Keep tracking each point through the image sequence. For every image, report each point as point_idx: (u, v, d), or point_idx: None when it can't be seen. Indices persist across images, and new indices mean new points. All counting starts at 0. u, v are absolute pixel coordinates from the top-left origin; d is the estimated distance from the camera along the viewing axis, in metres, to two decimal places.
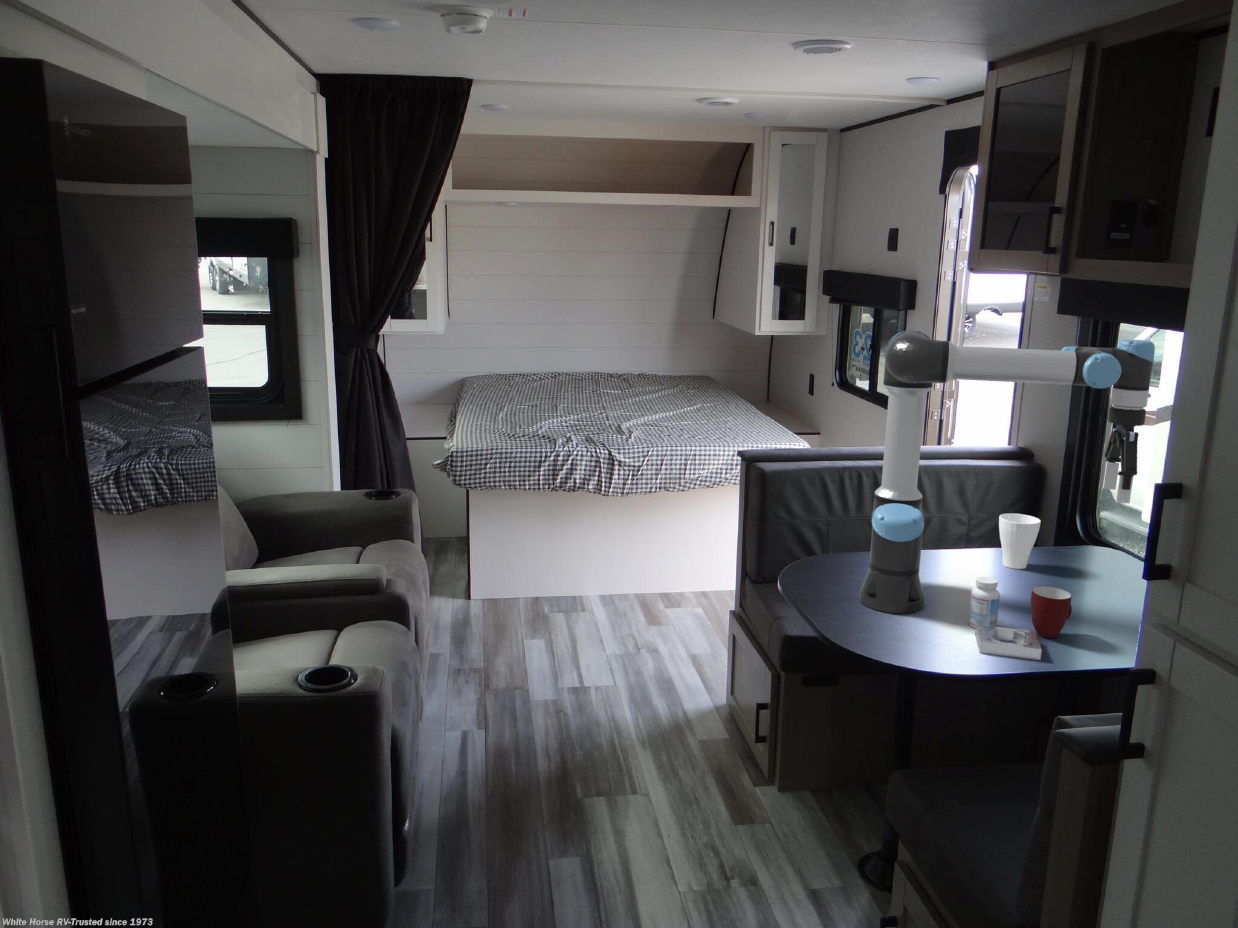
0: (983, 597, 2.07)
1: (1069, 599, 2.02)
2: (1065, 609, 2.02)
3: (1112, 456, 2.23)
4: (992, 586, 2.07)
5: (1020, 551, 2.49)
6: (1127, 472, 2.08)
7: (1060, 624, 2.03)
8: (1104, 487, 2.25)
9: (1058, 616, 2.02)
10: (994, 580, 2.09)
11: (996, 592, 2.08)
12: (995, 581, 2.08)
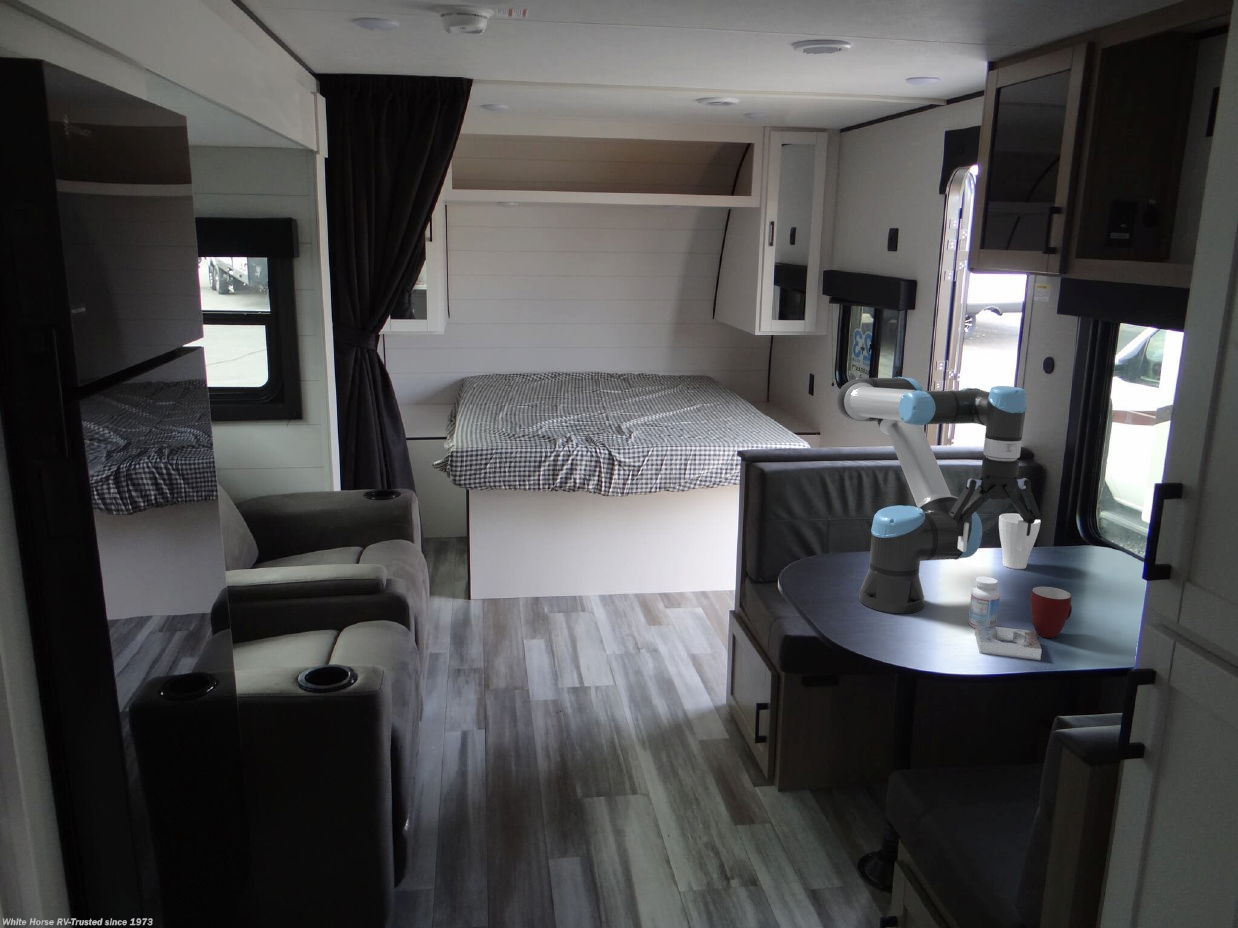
0: (983, 597, 2.07)
1: (1069, 599, 2.02)
2: (1065, 609, 2.02)
3: (1019, 513, 2.06)
4: (992, 586, 2.07)
5: (1020, 551, 2.49)
6: (949, 515, 2.05)
7: (1060, 624, 2.03)
8: (1016, 546, 2.09)
9: (1058, 616, 2.02)
10: (994, 580, 2.09)
11: (996, 592, 2.08)
12: (995, 581, 2.08)
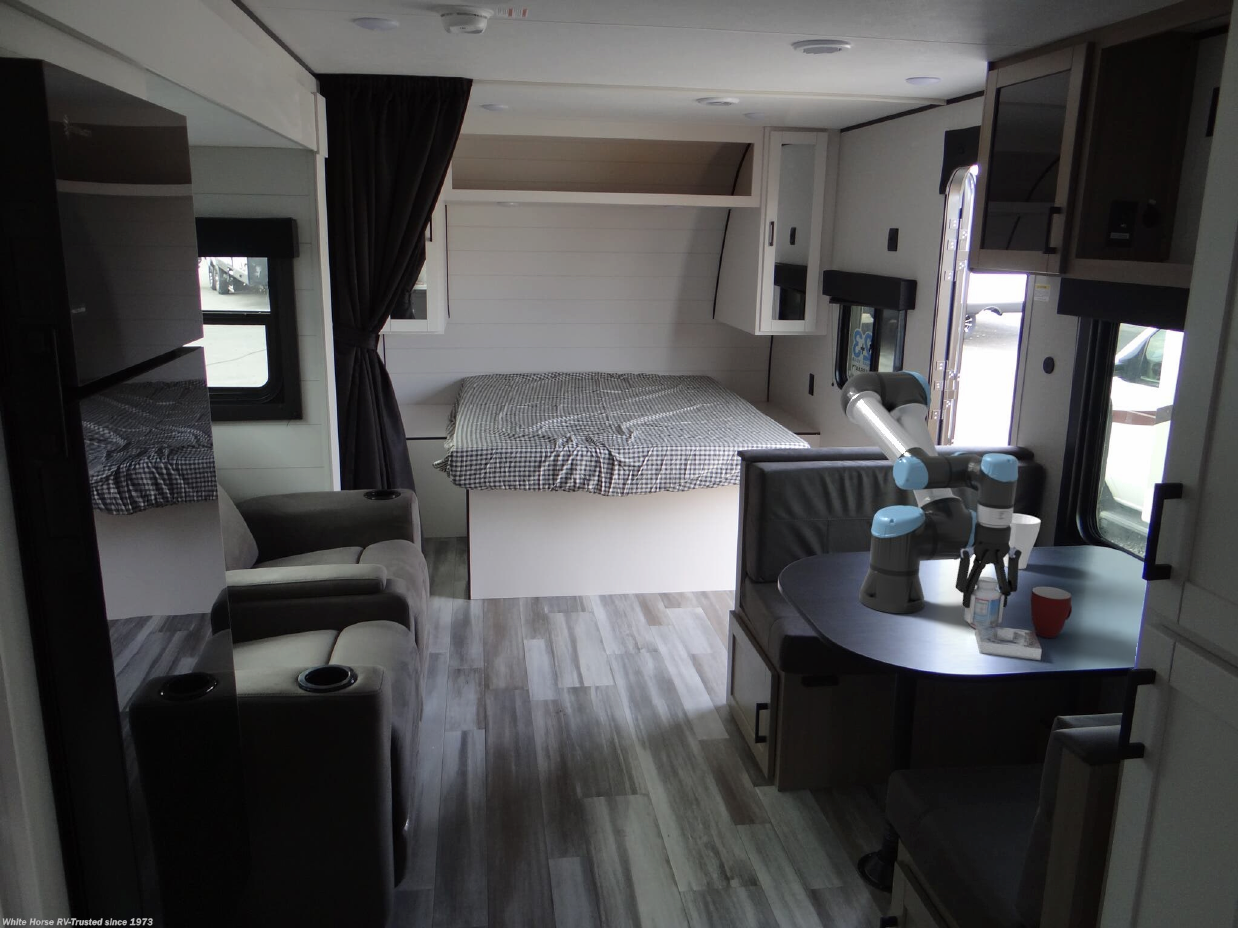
0: (983, 597, 2.07)
1: (1069, 599, 2.02)
2: (1065, 609, 2.02)
3: (999, 583, 2.10)
4: (992, 586, 2.07)
5: None
6: (956, 587, 2.09)
7: (1060, 624, 2.03)
8: None
9: (1058, 616, 2.02)
10: (994, 580, 2.09)
11: (996, 592, 2.08)
12: (995, 581, 2.08)
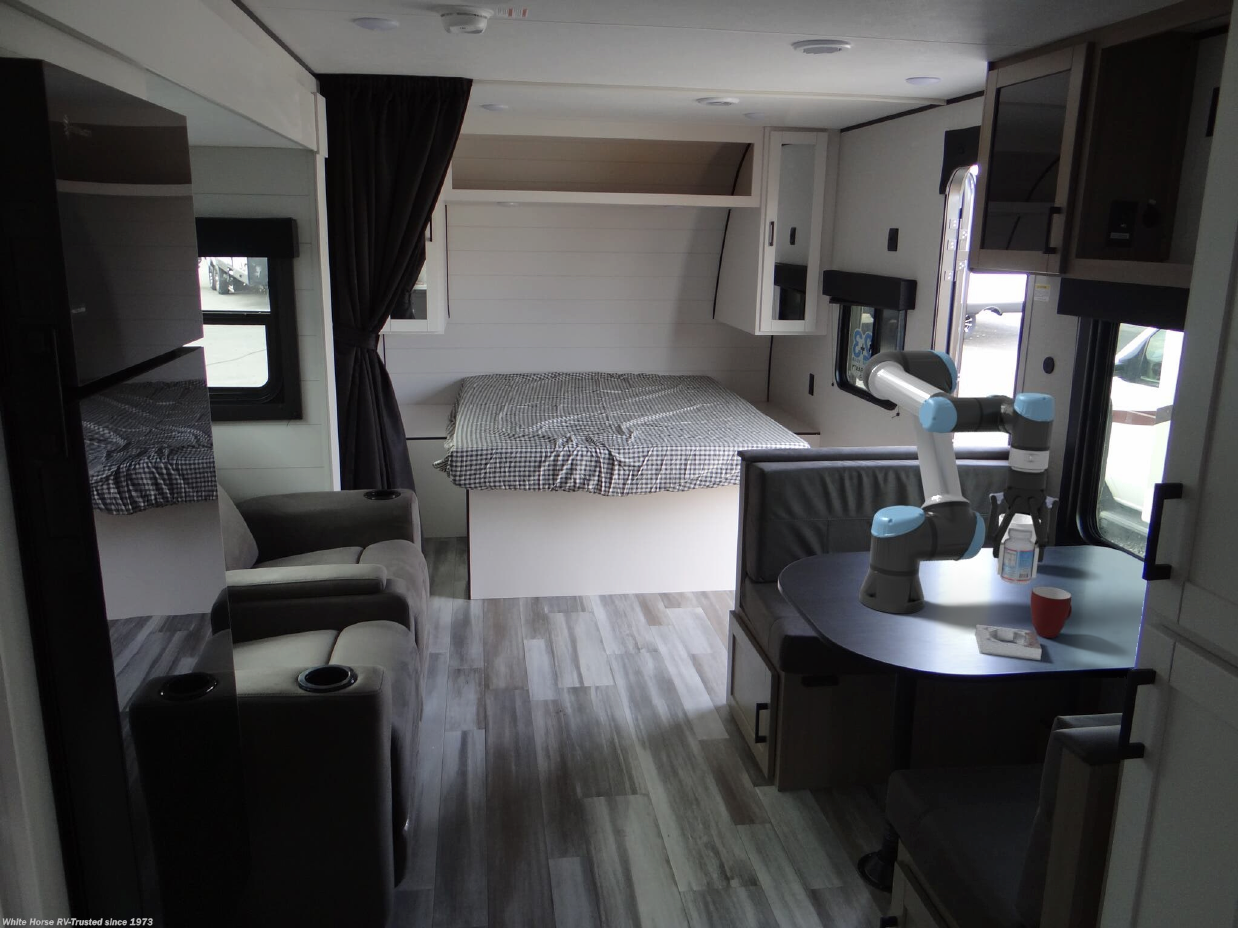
0: (1012, 547, 1.93)
1: (1069, 599, 2.02)
2: (1065, 609, 2.02)
3: None
4: (1022, 536, 1.92)
5: None
6: (985, 535, 1.97)
7: (1060, 624, 2.03)
8: None
9: (1058, 616, 2.02)
10: (1028, 531, 1.93)
11: (1028, 543, 1.93)
12: (1028, 531, 1.93)
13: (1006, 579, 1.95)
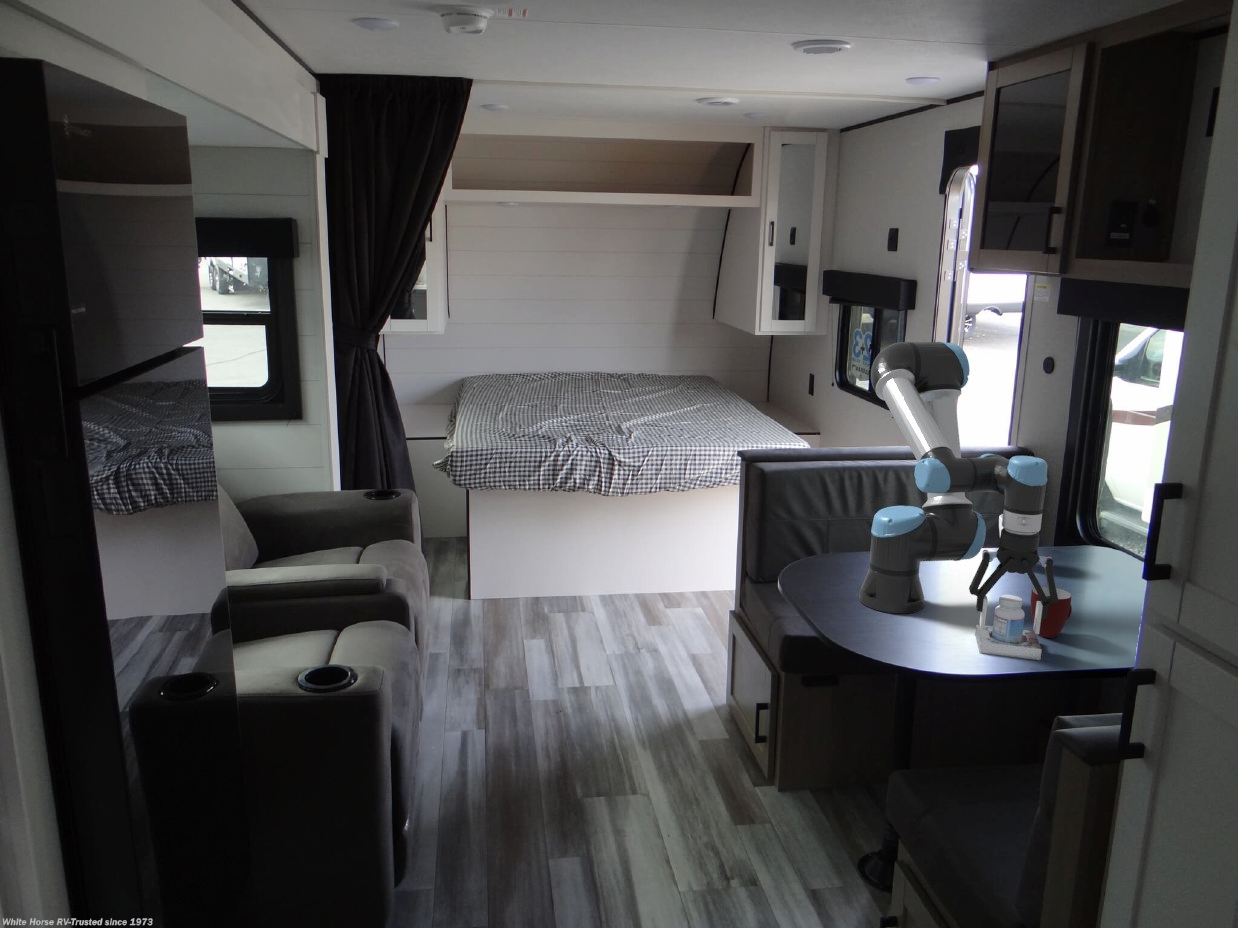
0: (1002, 615, 1.96)
1: (1069, 599, 2.02)
2: (1065, 609, 2.02)
3: None
4: (1013, 605, 1.96)
5: None
6: (969, 588, 2.00)
7: (1060, 624, 2.03)
8: (1033, 628, 1.99)
9: (1058, 616, 2.02)
10: (1019, 599, 1.97)
11: (1019, 612, 1.96)
12: (1019, 600, 1.96)
13: None
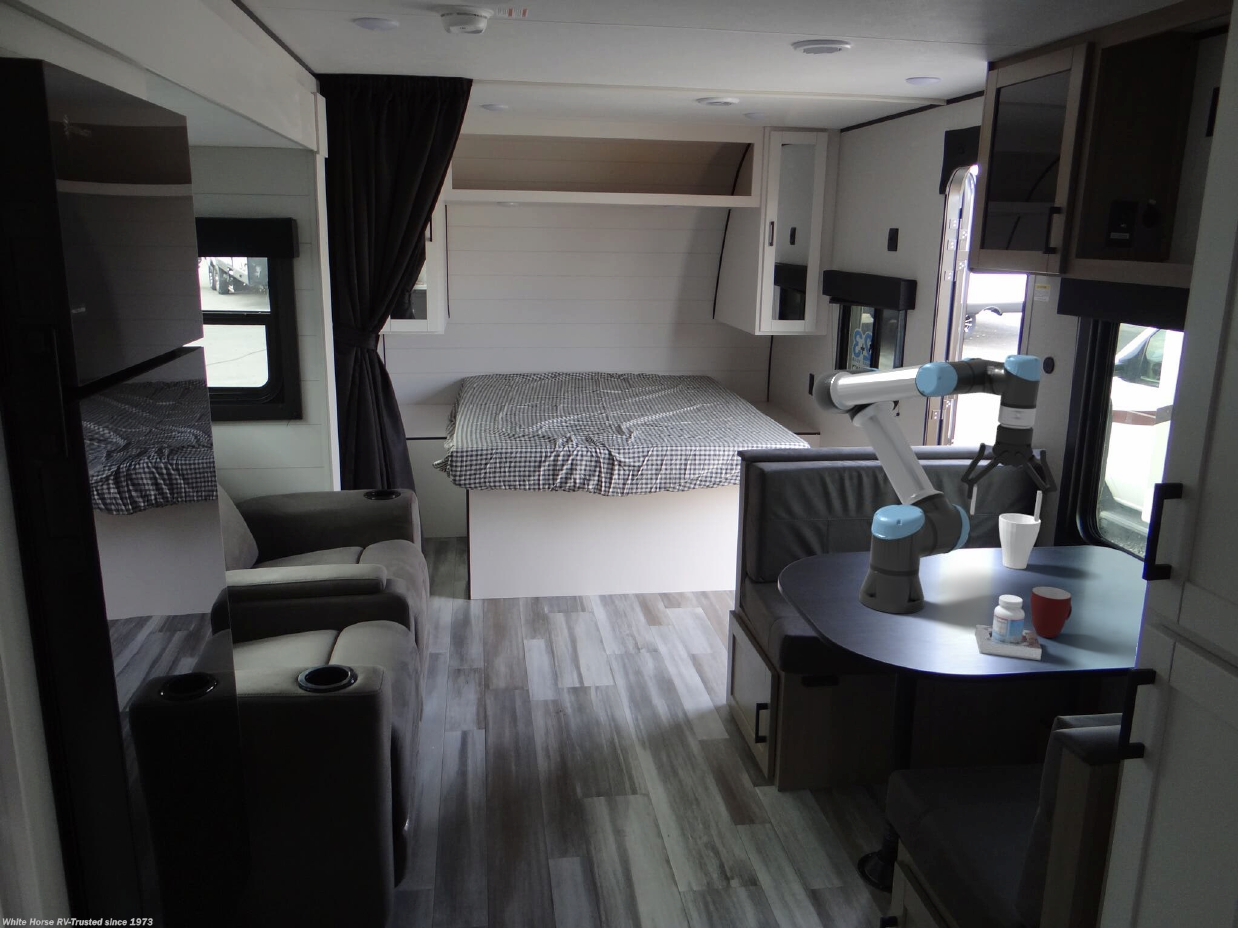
0: (1002, 615, 1.96)
1: (1069, 599, 2.02)
2: (1065, 609, 2.02)
3: None
4: (1013, 605, 1.96)
5: (1020, 551, 2.49)
6: None
7: (1060, 624, 2.03)
8: (1034, 517, 2.09)
9: (1058, 616, 2.02)
10: (1019, 599, 1.97)
11: (1019, 612, 1.96)
12: (1019, 600, 1.96)
13: None
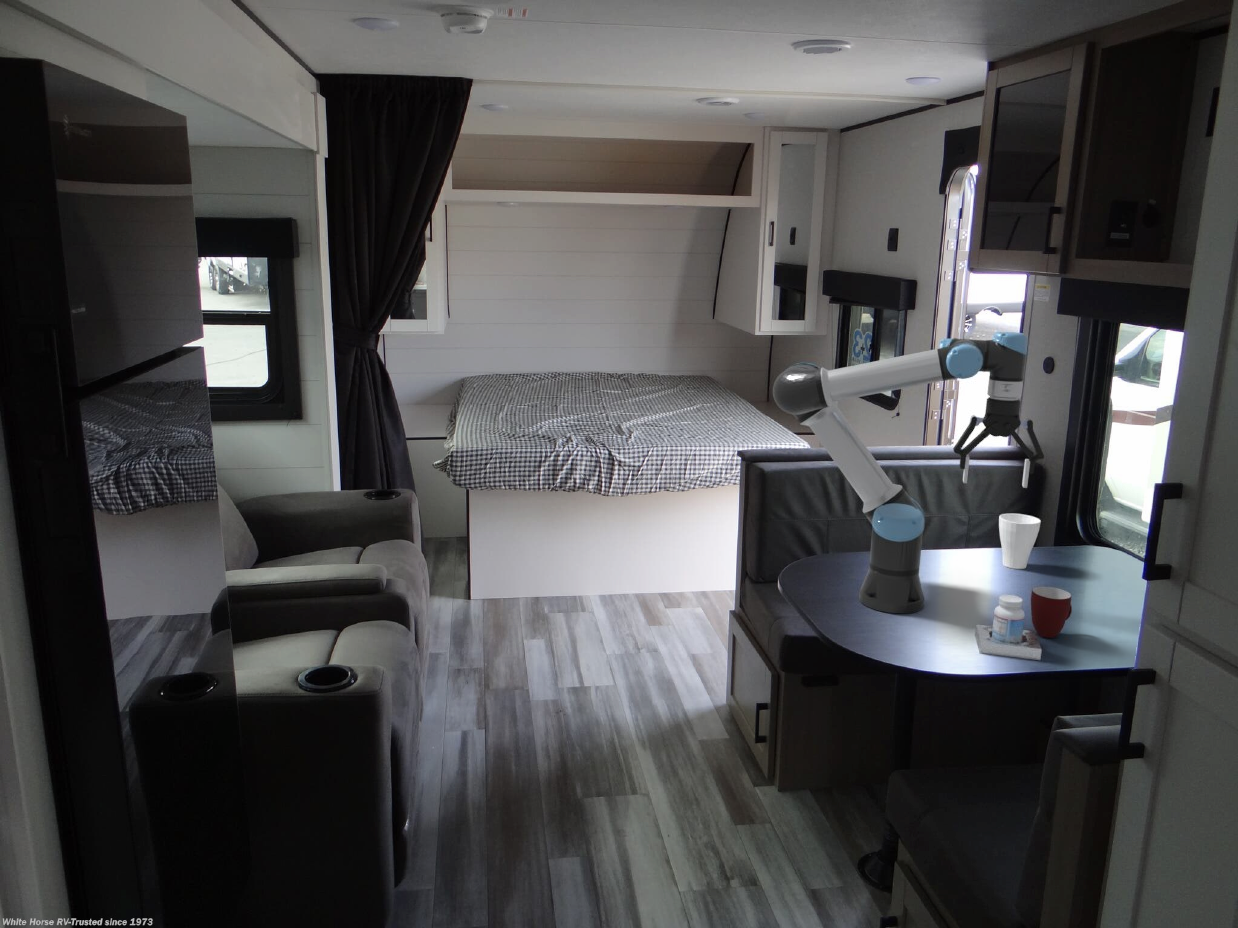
0: (1002, 615, 1.96)
1: (1069, 599, 2.02)
2: (1065, 609, 2.02)
3: None
4: (1013, 605, 1.96)
5: (1020, 551, 2.49)
6: (953, 449, 2.26)
7: (1060, 624, 2.03)
8: (1022, 484, 2.24)
9: (1058, 616, 2.02)
10: (1019, 599, 1.97)
11: (1019, 612, 1.96)
12: (1019, 600, 1.96)
13: None
